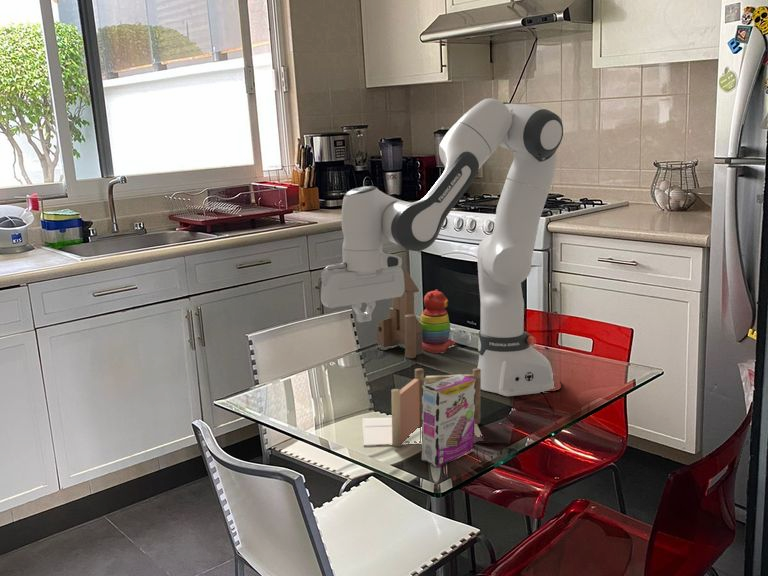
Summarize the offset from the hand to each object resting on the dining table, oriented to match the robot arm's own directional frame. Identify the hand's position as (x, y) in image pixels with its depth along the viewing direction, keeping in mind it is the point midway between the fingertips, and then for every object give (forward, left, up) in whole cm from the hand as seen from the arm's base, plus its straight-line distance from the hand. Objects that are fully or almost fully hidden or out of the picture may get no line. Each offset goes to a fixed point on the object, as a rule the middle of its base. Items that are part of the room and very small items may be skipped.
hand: (364, 321), depth 173 cm
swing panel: (-8, +11, -23) cm, 27 cm away
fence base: (-18, +4, -24) cm, 31 cm away
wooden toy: (-12, -54, -24) cm, 61 cm away
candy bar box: (-16, +21, -24) cm, 36 cm away
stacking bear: (-23, -57, -24) cm, 66 cm away
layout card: (-12, +6, -24) cm, 28 cm away
